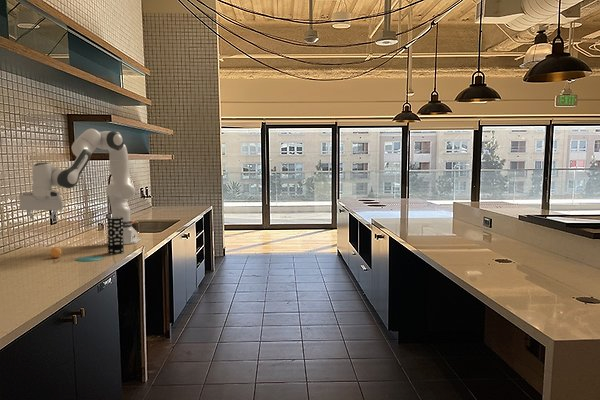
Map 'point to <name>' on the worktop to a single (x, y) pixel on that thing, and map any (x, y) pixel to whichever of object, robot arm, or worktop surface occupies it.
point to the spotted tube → (115, 235)
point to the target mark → (89, 258)
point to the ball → (55, 252)
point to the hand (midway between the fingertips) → (41, 218)
